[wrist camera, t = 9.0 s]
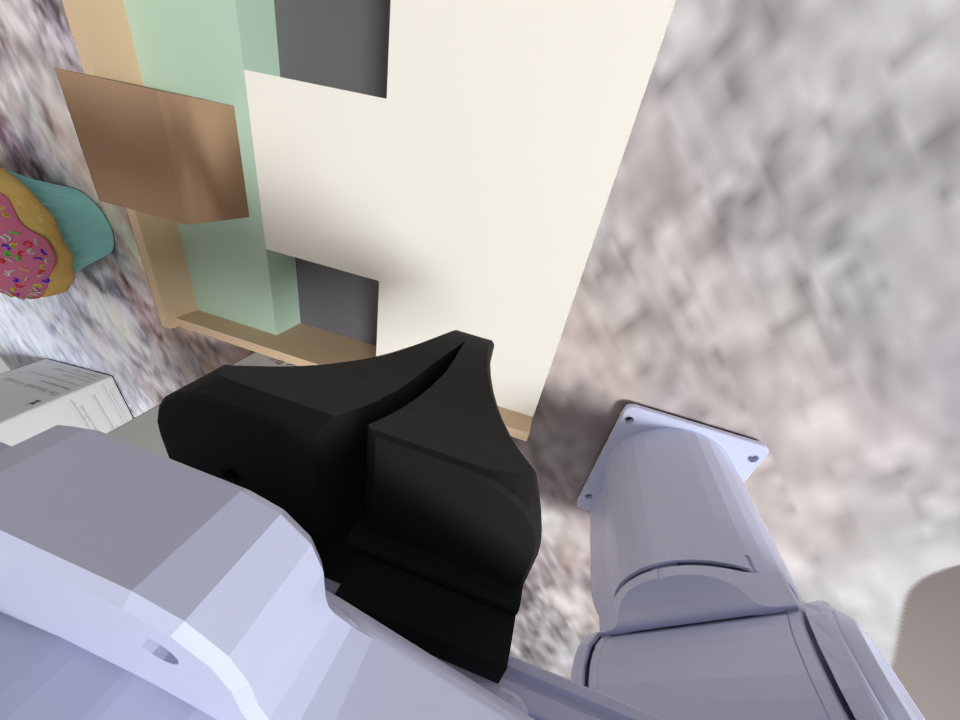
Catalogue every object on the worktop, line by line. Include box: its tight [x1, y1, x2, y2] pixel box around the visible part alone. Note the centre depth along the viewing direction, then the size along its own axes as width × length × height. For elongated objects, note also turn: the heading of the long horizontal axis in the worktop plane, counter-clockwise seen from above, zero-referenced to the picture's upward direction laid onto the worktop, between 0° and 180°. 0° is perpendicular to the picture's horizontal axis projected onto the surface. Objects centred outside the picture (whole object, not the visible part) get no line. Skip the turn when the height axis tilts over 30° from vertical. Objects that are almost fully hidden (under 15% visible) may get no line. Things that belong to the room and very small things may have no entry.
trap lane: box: [62, 0, 676, 442], centre depth 17 cm, size 20×24×4 cm
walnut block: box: [55, 68, 249, 225], centre depth 17 cm, size 5×5×4 cm
